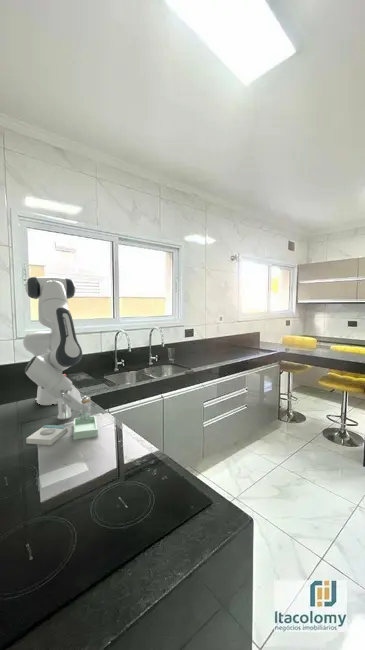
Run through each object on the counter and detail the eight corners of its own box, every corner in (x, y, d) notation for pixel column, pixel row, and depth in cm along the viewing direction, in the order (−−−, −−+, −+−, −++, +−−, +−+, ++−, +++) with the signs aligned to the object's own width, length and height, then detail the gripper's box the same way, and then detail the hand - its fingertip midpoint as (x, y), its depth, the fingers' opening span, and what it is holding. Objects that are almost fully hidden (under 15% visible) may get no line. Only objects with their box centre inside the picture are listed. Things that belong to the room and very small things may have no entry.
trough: (74, 424, 124) (73, 418, 124) (95, 421, 127) (95, 415, 127) (73, 439, 110) (73, 432, 109) (97, 436, 113) (97, 429, 113)
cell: (82, 416, 120) (82, 394, 120) (92, 417, 120) (92, 395, 119) (77, 420, 116) (77, 397, 115) (88, 421, 115) (87, 398, 115)
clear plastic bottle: (66, 420, 128) (66, 388, 127) (53, 419, 129) (52, 387, 128) (75, 415, 135) (75, 384, 134) (62, 413, 136) (62, 383, 135)
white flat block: (45, 429, 118) (45, 424, 118) (67, 431, 117) (67, 425, 117) (26, 443, 106) (26, 437, 106) (50, 445, 105) (50, 439, 105)
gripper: (67, 388, 105) (94, 410, 109) (66, 376, 123) (89, 395, 128) (54, 401, 103) (83, 423, 108) (55, 387, 122) (79, 406, 126)
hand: (86, 408), depth 118 cm, fingers closed on cell, 4 cm apart
